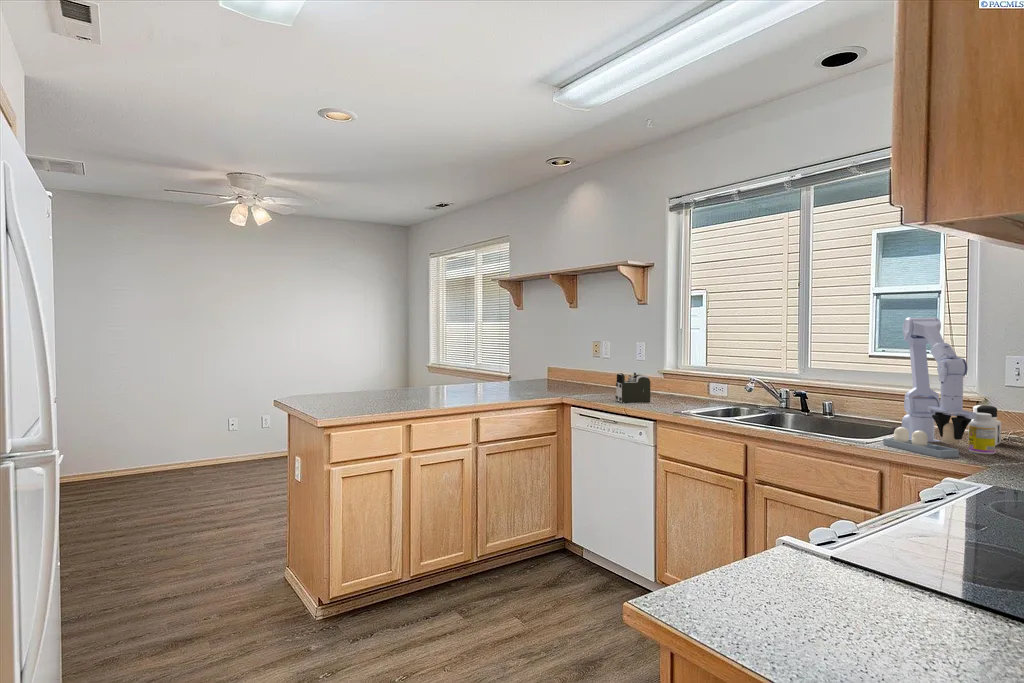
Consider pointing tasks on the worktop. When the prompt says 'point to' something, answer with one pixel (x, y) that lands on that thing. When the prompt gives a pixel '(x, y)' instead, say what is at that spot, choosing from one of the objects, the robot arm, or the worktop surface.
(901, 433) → the cream egg
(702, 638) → the worktop surface
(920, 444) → the cream egg
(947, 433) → the egg
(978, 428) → the supplement bottle
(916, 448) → the grey compartment tray
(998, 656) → the worktop surface
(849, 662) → the worktop surface
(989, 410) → the container
